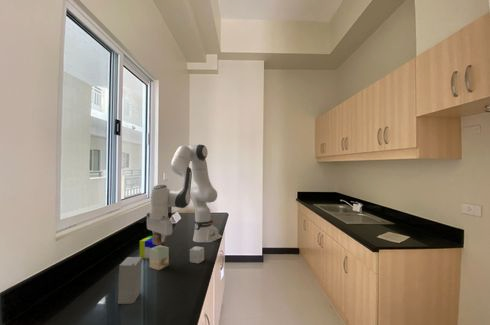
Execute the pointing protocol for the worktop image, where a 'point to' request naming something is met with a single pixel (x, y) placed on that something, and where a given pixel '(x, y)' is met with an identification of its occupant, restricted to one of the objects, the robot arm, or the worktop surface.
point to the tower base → (159, 263)
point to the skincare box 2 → (196, 254)
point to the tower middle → (159, 252)
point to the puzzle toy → (146, 247)
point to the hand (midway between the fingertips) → (159, 240)
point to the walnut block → (157, 239)
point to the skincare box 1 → (129, 280)
